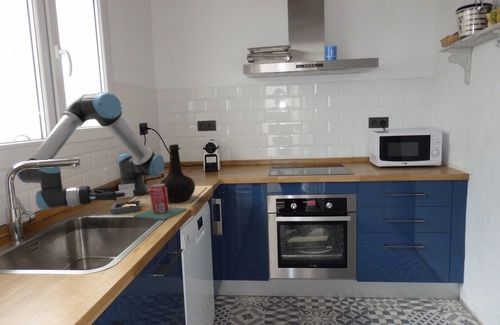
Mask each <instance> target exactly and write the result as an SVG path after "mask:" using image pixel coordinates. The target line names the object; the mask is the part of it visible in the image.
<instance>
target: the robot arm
mask: <svg viewBox="0 0 500 325" xmlns="http://www.w3.org/2000/svg"><path fill="white" fill-rule="evenodd" d="M121 105H122V102H121V101H120V99H119V98H118V96H116V95H115V94H113V93H111V92H97V93H86V94H82V95H80V96H78V97H76V98H75V99H74V100H73V101H71V103H69V105H68V106H67V107H66V108H65V109H64V111H62V114H61V115H62V117H61V118H60V119H59V121H58V122H57V123H56V124H55V126H54V127H53V128H52V129H51V131H50V132H49V134H48V135H47V136H46V137H45V138H44V140H43V141H42V142H41V144H40V145H39V146H38V147H37V149H36V150H35V151H34V153H33V154H32V155H31V156H30V157H29V159H28V160H27V161H29V160H48V159H55V158H56V157H57V155H58V154H59V152H60V151H61V150H62V149H63V147H64V146H65V145H66V143H67V142H68V141H69V139H71V136H72V135H73V134H74V132H75V131H76V130H77V129H78V128H80V127H82V126H83V124H84V123H85V122H87V121H90V120H95V121H97V123H98V124H99V125H100V126H101V127H103V128H107V130H108V131H110V133H111V134H112V135H113V137H114V138H115V139H116V140H117V141H118V142H119V143H120V145H121V146H122V147H123V148H124V149H125V150H126V151H127V153H123V154H120V155H119V156H118V166H119V174H120V175H119V176H120V184H119V183H116V184H113V185H108V186H103V187H102V186H101V187H95V188H94V189H93V190H92V189H91V187H90V186H89V185H82V186H81V185H80V186H71V187H65V188H64V187H63V181H62V173H61V167H53V168H39V169H25V170H22V171H21V172H19V173H18V174H17V176H18V178H19V179H20V180H21V181H22V183H26V184H30V183H31V184H40V189H41V190H38V191H37V192H36V193H35V203H36V206H37V208H38V209H39V210H47V209H51V210H53V209H57V208H59V209H60V208H66V207H72V208H75V207H76V206H80V205H90V204H91V203H92V202H93V201H115V202H116V201H117V199H123V198H132V197H138V196H143V195H146V194H147V193H148V188H147V187H146V184H145V181H144V178H143V176H144V177H158V176H160V175H161V174H162V172H164V169H165V159H164V157H163V155H161V154H159V153H157V154H156V153H155V152H154V151H153V150H152V149H151V148H150V147H147V146H145V144H144V143H143V142H142V140H141V139H140V138H139V136H138V135H137V134H136V133H135V131H134V130H133V128H131V126H130V125H129V124H128V123H127V121H126V120H125V119H124V117H123V111H122V109H123V108H122V106H121ZM145 193H146V194H145ZM142 194H143V195H142Z"/></svg>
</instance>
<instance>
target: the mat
mask: <svg viewBox="0 0 500 325" xmlns="http://www.w3.org/2000/svg"><path fill="white" fill-rule="evenodd" d="M187 210H188V209H187V208H185V207H173V206H171V207H170V206H168V210H167V211H166V212H165V213H155V212H153V211H152V208H150V209H147V210H145V211H143V212H142V211H141V212H139V213H137V214H134V215H133V219H134V218H135V219H145V220H155V221H166V220H168V219H170V218H173V217H174V216H177V215H180V214H181V213H184V212H186V211H187Z"/></svg>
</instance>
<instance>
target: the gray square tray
mask: <svg viewBox="0 0 500 325" xmlns="http://www.w3.org/2000/svg"><path fill="white" fill-rule="evenodd" d="M140 203H141V202H140V200H132V201H124V202H114V203H112V206H111V208H110V214H111V215H115V214H123V213H132V212H139V211H140V209H139V205H140V206H141V204H140ZM125 204H136V206H129V207H122V206H123V205H125Z"/></svg>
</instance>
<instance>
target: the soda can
mask: <svg viewBox="0 0 500 325" xmlns="http://www.w3.org/2000/svg"><path fill="white" fill-rule="evenodd" d="M149 191H150V202H151V204H150V205H151V209H152V211H153V212H155V213H165V212H166V211H167V210H168V207H169V202H168V195H167V188H166V186H165V184H160V183H154V184H151V187H150V190H149Z"/></svg>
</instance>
